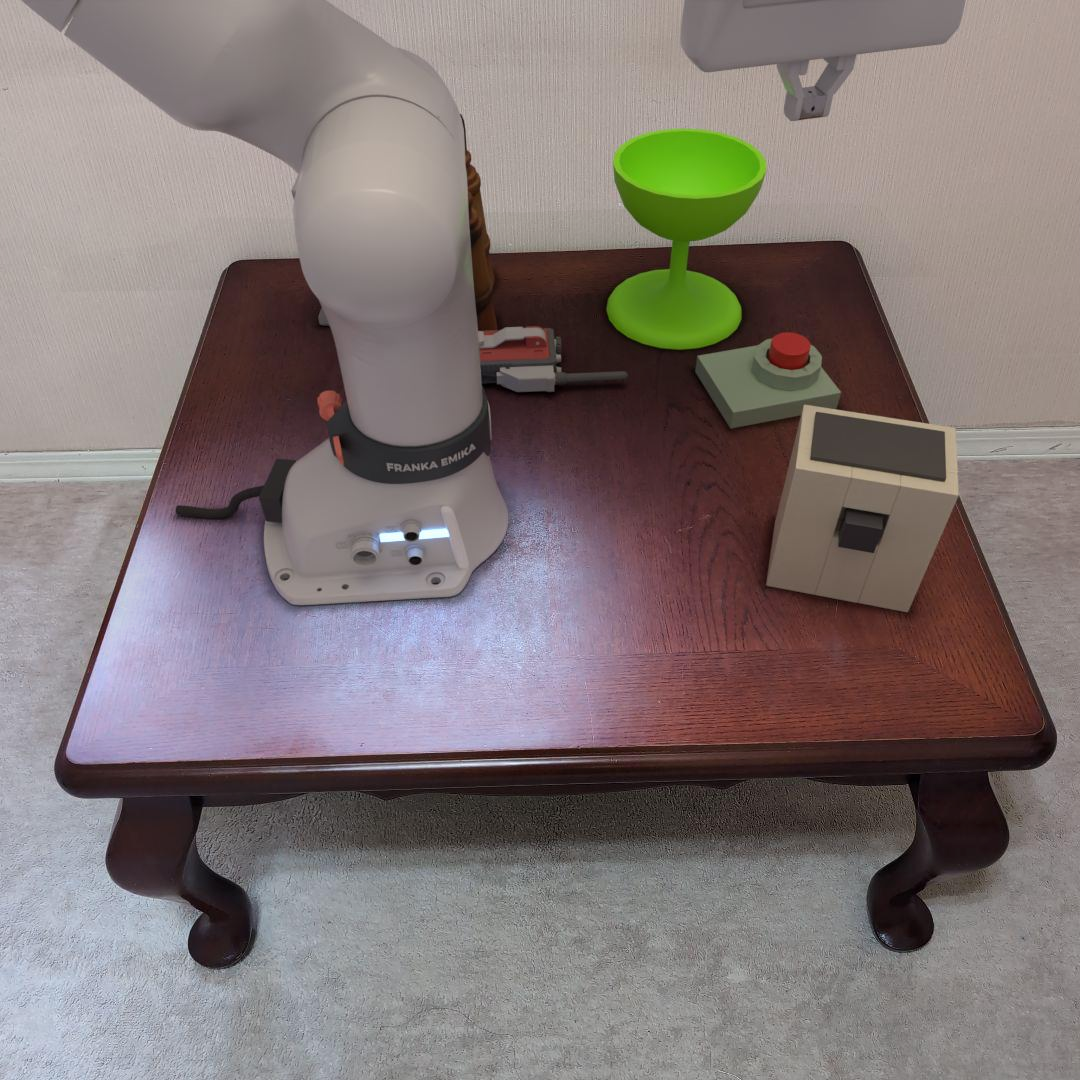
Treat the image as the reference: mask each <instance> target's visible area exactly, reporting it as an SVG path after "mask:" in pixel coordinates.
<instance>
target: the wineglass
mask: <svg viewBox="0 0 1080 1080" xmlns="http://www.w3.org/2000/svg"><path fill="white" fill-rule="evenodd" d="M612 159H613V160H612V169H613V178H614V183H615V186H616V189H617V191H618V194H619V196H620V199H621V202H622V205H623V207H624V208H625V209H626V211H627V212H628V213H629V214H630V216H631V217H632V218H633V219H634V221H636V223H638V224H639V226H641V227H642V228H644V229H646V230H647V231H649V232H650V233H652V234H654V235H655V236H658V237H659V238H663V239H665V240H669V241H672V242H671V252H670V260H669V261H670V263H669V268H663V269H652V270H649V271H645V272H640V273H638V274H635V275H633V276H631V277H628V278H626V279H625V280H623V281H622V282H621V283H619V284H618V285H617V286H615V288H614V289H613V291H612V292H611V294H610V295H609V297H608V298H607V303H606V309H605V310H606V313H607V317H608V320H609V322H610V323H612V325H613V327H614V328H615V329H616V330H617V331H618V332H620V333H621V334H622V335H624V336H626V338H629V339H631V340H633V341H635V342H638V343H640V344H643V345H646V346H650V347H654V348H658V349H665V350H678V351H680V350H681V351H682V350H692V349H700V348H704V347H708V346H711V345H716V344H717V343H719V342H721V341H724V340H725V339H728V337H730V336H731V335H732V334H733V333H734V332H735V331H736V330H737V329H738V327H739V326H740V323H741V321H742V320H743V319H742V318H743V317H742V305H741V303H740V302H739V300H738V297H737V296H736V294H735V293H734V292H733V291H732V290H731V289H730V288H729V287H728V286H727V285H726V284H724V283H723V282H721V281H719V280H718V279H715V278H714V277H712V276H709V275H706V274H704V273H702V272H697V271H692V270H687V268H688V257H689V250H690V249H689V248H690V242H697V241H702V240H706V239H709V238H711V237H714V236H717V235H718V234H721V233H724V232H725V231H727V230H728V229H729V228H730V227H732V226H733V225H735V223H737V222H738V221H739V220H740V219H741V218H743V216H745V215H746V214H747V213H748V211H749V209H750V208H751V206H752V204H754V201H755V200H756V198H758V195H759V193H760V191H761V189H762V186H763V183H764V181H765V177H766V174H767V169H768V168H767V160H766V158H765V157H764V155H763V154H762V151H760V150H759V149H758V148H756V147H755V146H753V144H751V143H749V142H747V141H745V140H743V139H740V138H739V137H737V136H734V135H729V134H727V133H723V132H720V131H715V130H709V129H708V130H707V129H702V128H699V129H698V128H684V127H683V128H666V129H659V130H655V131H650V132H645V133H643V134H640V135H637V136H634V137H631V138H630V139H628V140H626V142H623V143H622V144H621V145H620V146H619V147H618V148H617V150H616V151H615V152H614V155H613V158H612Z"/></svg>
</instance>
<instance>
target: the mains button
mask: <svg viewBox="0 0 1080 1080" xmlns="http://www.w3.org/2000/svg"><path fill="white" fill-rule="evenodd" d="M771 339H772V341H771V345H770V350H769V355H768V359H769V362H770V363H771V364H772V365H774V366H776V367H778V368H781V369H788V370H796V369H802V368H803V367H804V366H805V365H806V364H807V360H808V355H809V351H810V347H811V345H812V344H811V342H810V341H809V339H808V338H807V337H806V336H804V335H802V334H799V333H796V332H791V331H788V332H787V331H786V332H780V333H778V334H775V335H774V336H773V337H772V338H771Z"/></svg>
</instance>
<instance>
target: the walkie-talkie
mask: <svg viewBox="0 0 1080 1080" xmlns="http://www.w3.org/2000/svg"><path fill="white" fill-rule="evenodd" d="M554 333H555V331H554V329H553V328H550V327H542V326H539V325H538V326H537V325H532V326H525V327H523V326H510V327H509V326H508V327H507V326H505V327H503V328H502V329H497V330H489V331H488V330H486V331H478V339H479V354H480V368H481V382H482V385H483V384H484V385H485V384H496V385H500V386H501V387H503V388H506V389H508V390H511V391H513V392H516V393H529V392H531V393H532V392H533V393H534V392H547V393H553V392H555V386H565V385H567V384H580V383H581V384H582V383H583V384H584V383H601V382H603V381H612V380H615V381H616V380H627V379H628V377H629V374H628V373H627V371H624V370H621V371H619V370H618V371H596V372H594V371H593V372H571V373H567V372H563V371H562V366H561V367H560V366H557V364H558V363H562V338H561V336H556V337H555V334H554Z"/></svg>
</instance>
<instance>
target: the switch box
mask: <svg viewBox="0 0 1080 1080" xmlns="http://www.w3.org/2000/svg"><path fill="white" fill-rule="evenodd" d="M771 341H772V338H766V339H765V340H764V341H762V342H761V343H759V344H757V345H752V346H751V345H750V346H746V347H740V348H735V349H734V348H733V349H729V350H722V351H717V352H711V353H705V354H700V355H697V356H696V363H695V370H694V371H695V374H696V376H697V377H698V379H699V380H700V382H701V384H702V386H703V387H704V388H705V390H706V391H707V393H708V396H709V397H710V398H711V400H712V401H713V403H714V405H715V406H716V408H717V409H718V412H719V413H720V414H721V416H722V418H723V419H724V421H725V422H726V424H727V425H728V427H729V429H736V428H741V427H746V426H752V425H753V426H754V425H757V424H763V423H768V422H773V421H779V420H784V419H789V418H794V417H801V413H802V409H803V405H810V406H817V407H823V408H830V409H836V410H838V405H839V402H840V398H841V396H842V395H841V394H842V391H841V390H840V389H839V387H837V385H836V384H835V382H834V381H833V380H832V378H830V376H829V374H828V373H827V372H826V371H825V370H824V368H823V366H822V363H823V362H822V361H823V356H822V354H821V353H820V352H819V350H818V349H817V348H816V346H814V345H812V344H810V345H811V347H810V351H809V355H808V360H807V364H806V365H805V366H804V367H803V368H802V369H796V370H788V369H781V368H778V367H776V366H774V365H772V364H771V363H770V362H769V359H768V355H769V350H770V345H771Z"/></svg>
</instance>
